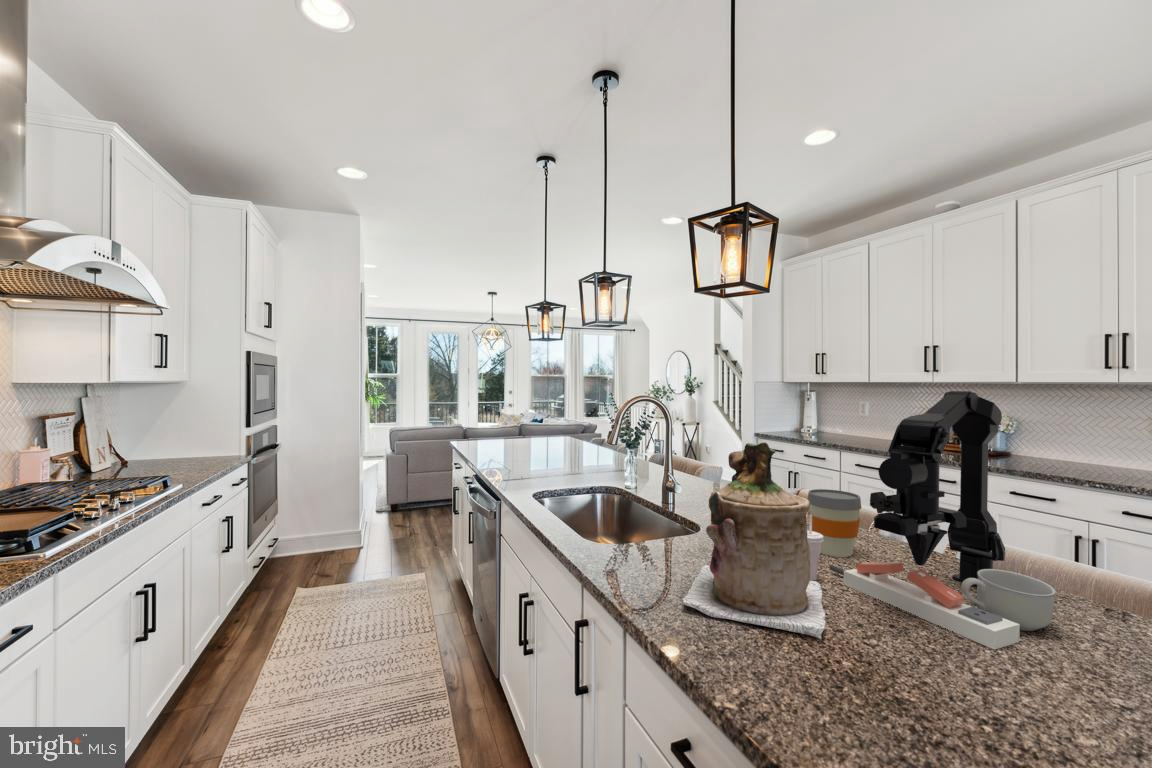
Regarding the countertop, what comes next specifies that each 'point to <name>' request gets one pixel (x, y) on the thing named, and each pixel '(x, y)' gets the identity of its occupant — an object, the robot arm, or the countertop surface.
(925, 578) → the block
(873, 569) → the rocker
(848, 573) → the power strip
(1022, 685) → the countertop surface
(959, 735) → the countertop surface
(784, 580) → the cookie jar
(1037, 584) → the teacup
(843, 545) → the reusable coffee cup
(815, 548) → the smoothie
